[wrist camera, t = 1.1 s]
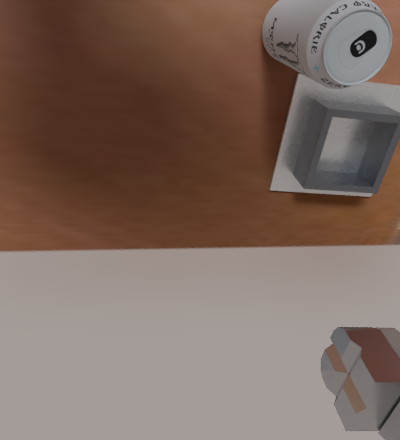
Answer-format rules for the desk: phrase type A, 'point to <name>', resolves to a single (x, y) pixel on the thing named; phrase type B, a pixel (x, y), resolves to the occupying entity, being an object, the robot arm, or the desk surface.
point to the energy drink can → (329, 39)
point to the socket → (337, 138)
